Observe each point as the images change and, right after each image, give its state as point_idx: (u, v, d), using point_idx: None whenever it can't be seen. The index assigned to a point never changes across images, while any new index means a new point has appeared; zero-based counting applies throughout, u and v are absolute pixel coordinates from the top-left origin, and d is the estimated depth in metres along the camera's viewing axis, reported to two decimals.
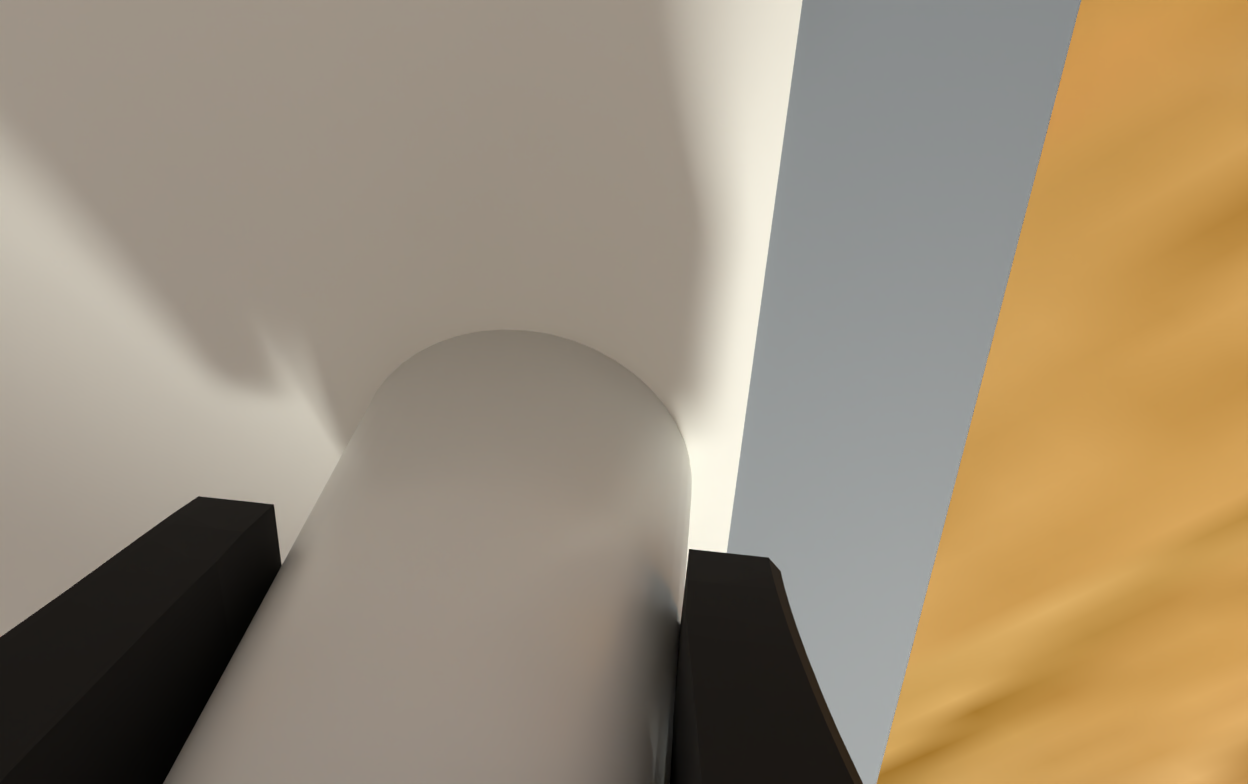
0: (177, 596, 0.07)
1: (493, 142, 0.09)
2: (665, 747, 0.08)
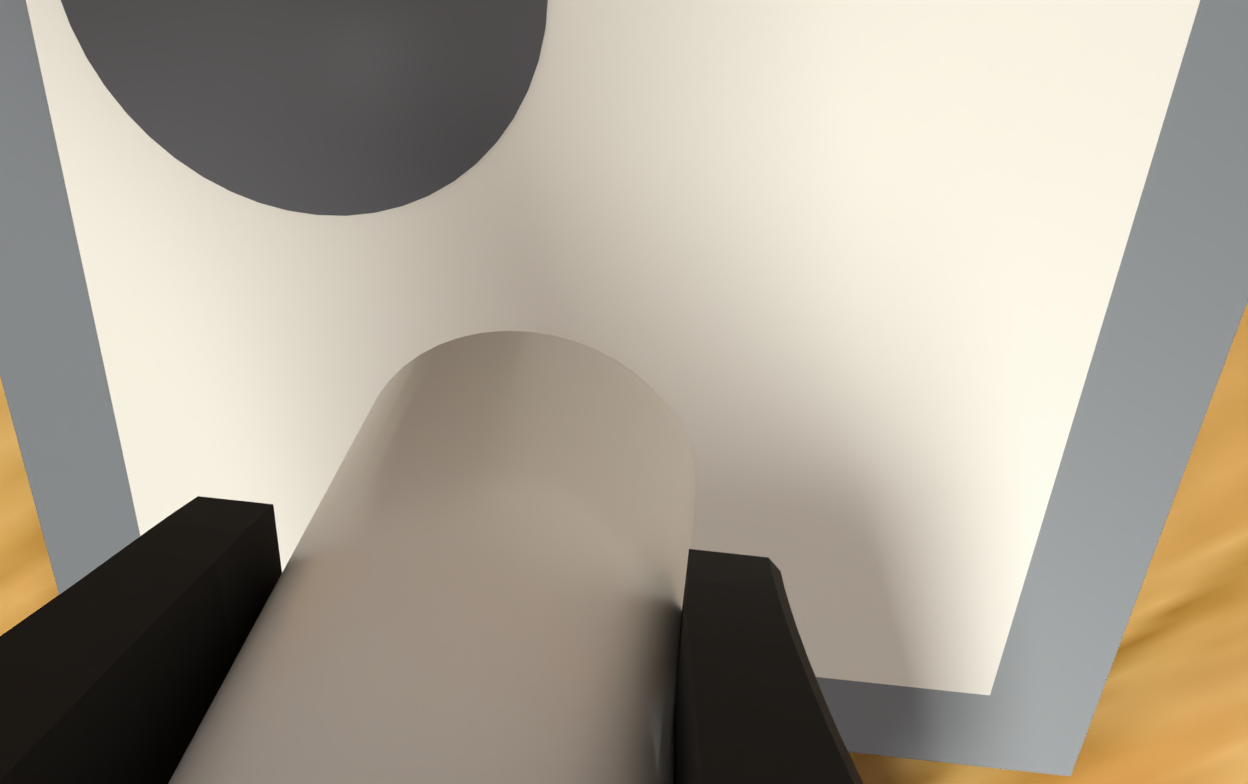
0: (177, 594, 0.07)
1: (954, 282, 0.17)
2: (668, 746, 0.08)
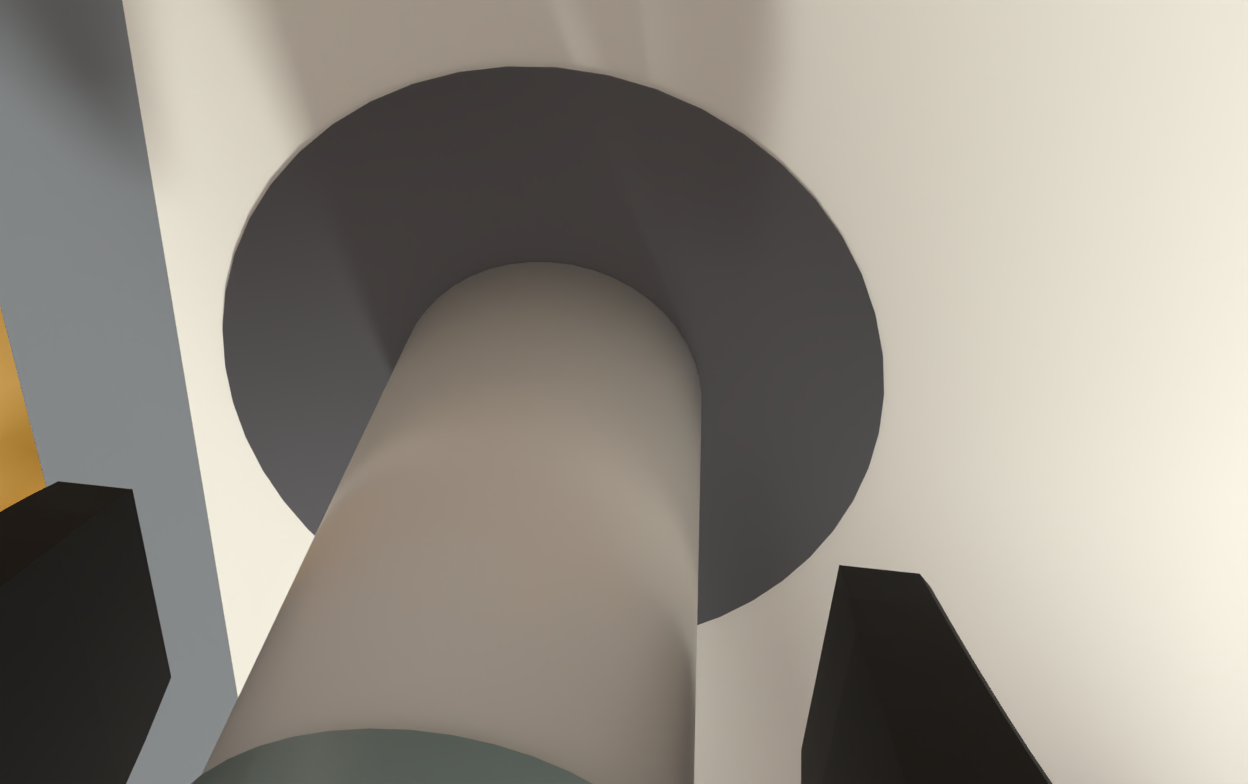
0: (8, 577, 0.07)
1: None
2: (693, 600, 0.09)
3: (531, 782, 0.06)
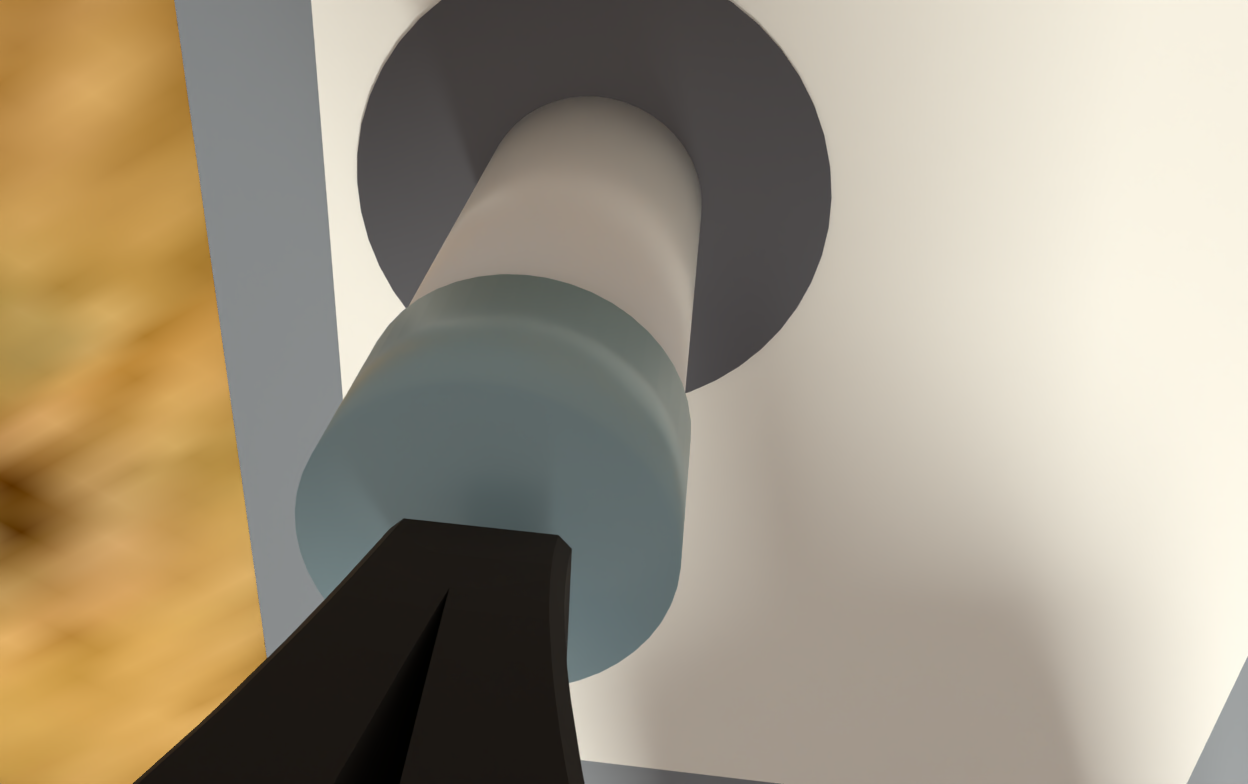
0: (423, 622, 0.07)
1: (1179, 477, 0.18)
2: (689, 288, 0.13)
3: (591, 300, 0.11)
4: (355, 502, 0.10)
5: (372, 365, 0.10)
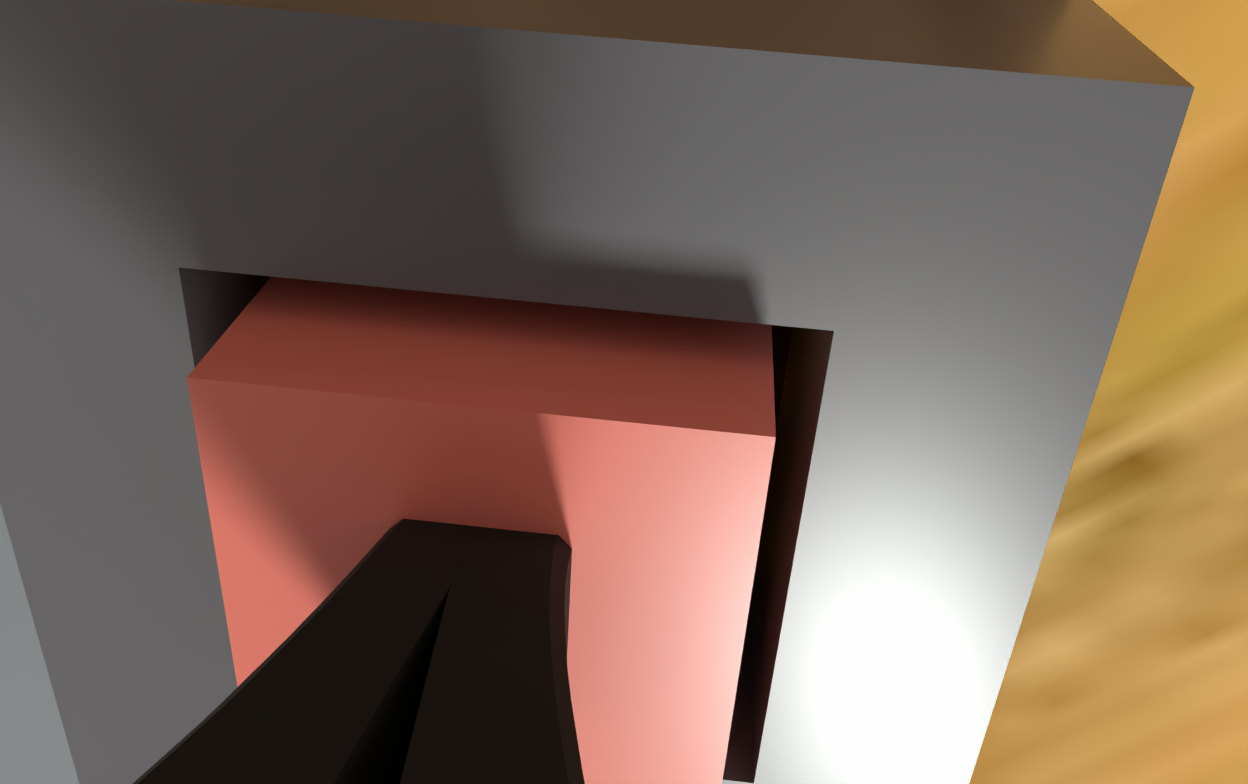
0: (423, 623, 0.07)
1: None
2: None
3: None
4: None
5: None
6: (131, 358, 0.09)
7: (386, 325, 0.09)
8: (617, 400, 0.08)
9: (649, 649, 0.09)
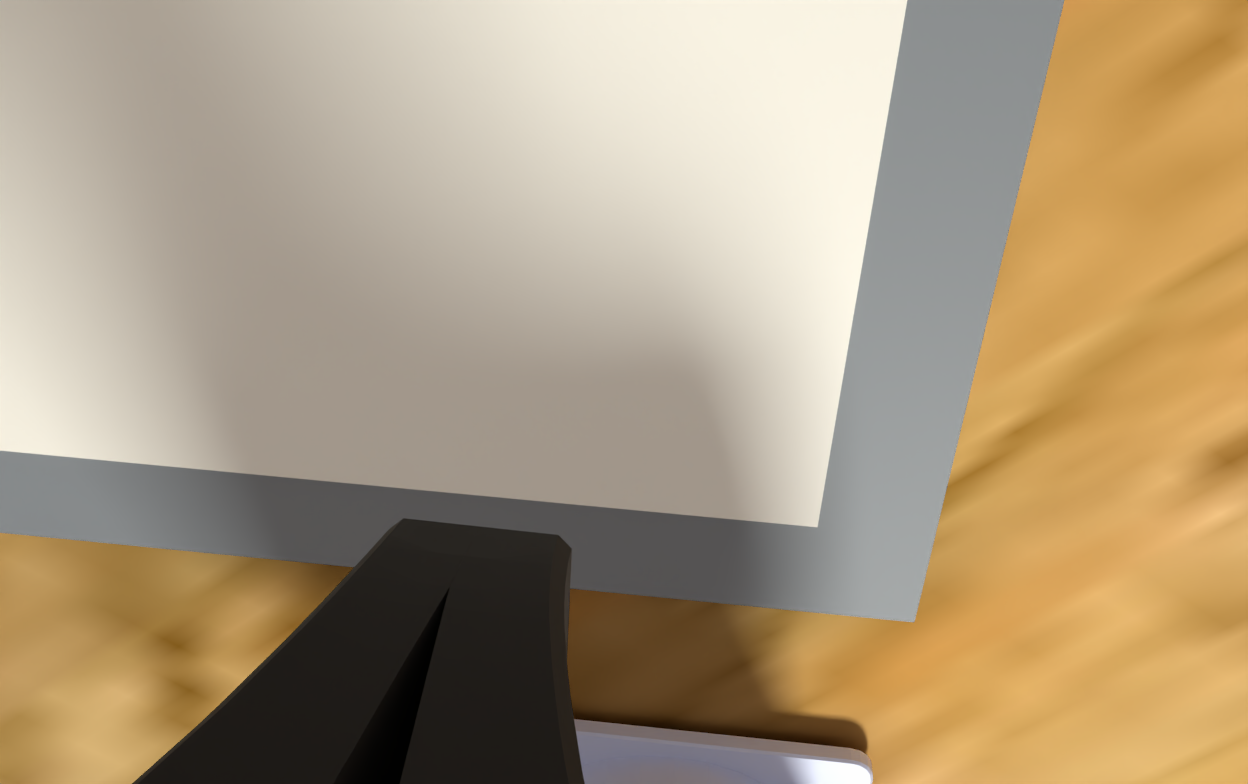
0: (425, 624, 0.07)
1: (727, 21, 0.15)
2: None
3: None
4: None
5: None
6: None
7: None
8: None
9: None
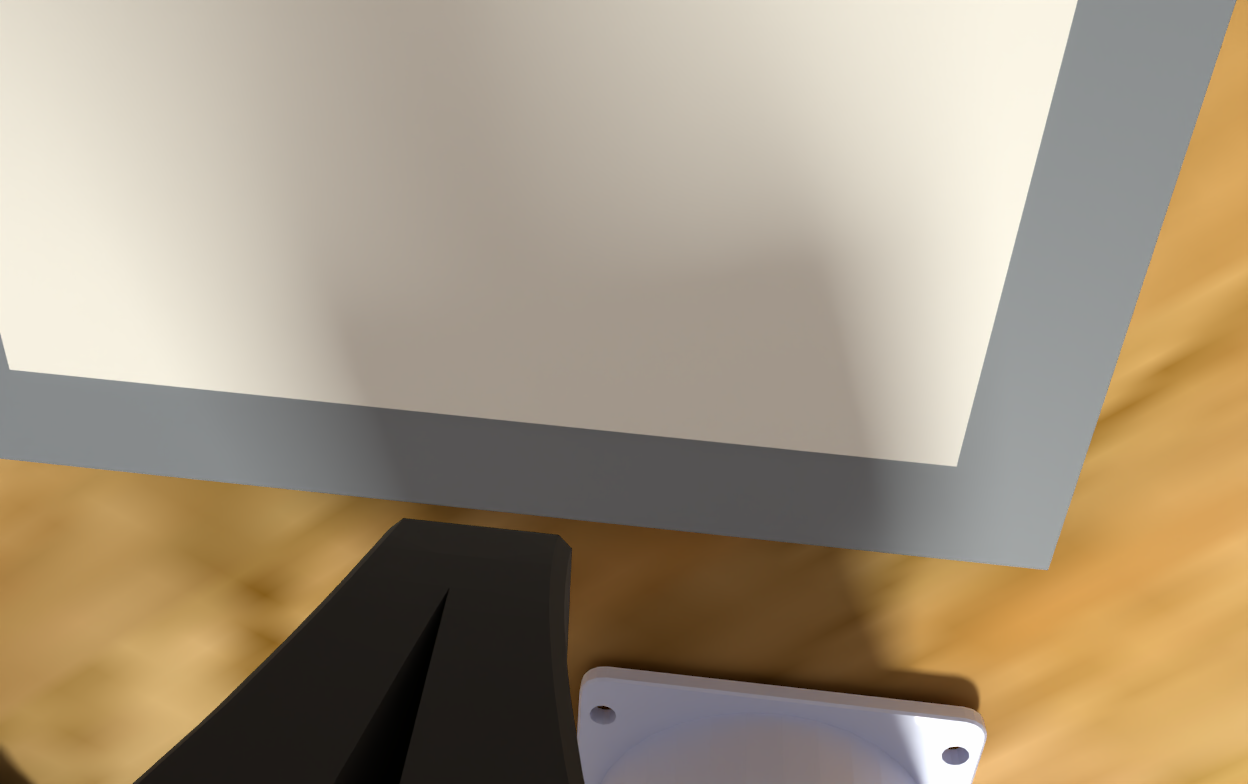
0: (423, 624, 0.07)
1: None
2: None
3: None
4: None
5: None
6: None
7: None
8: None
9: None
